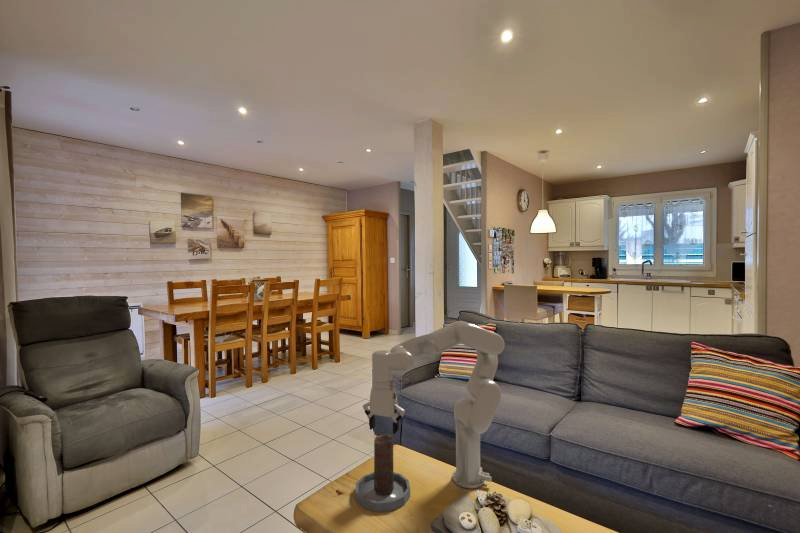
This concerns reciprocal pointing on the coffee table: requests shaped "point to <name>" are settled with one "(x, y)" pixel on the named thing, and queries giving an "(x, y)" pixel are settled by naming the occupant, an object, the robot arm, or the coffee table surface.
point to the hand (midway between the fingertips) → (383, 430)
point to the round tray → (382, 501)
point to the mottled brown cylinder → (383, 464)
